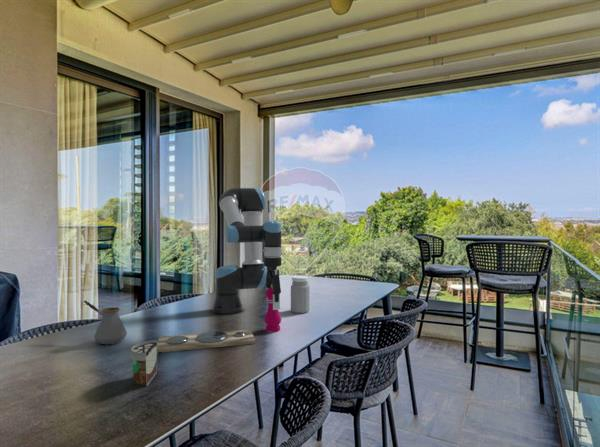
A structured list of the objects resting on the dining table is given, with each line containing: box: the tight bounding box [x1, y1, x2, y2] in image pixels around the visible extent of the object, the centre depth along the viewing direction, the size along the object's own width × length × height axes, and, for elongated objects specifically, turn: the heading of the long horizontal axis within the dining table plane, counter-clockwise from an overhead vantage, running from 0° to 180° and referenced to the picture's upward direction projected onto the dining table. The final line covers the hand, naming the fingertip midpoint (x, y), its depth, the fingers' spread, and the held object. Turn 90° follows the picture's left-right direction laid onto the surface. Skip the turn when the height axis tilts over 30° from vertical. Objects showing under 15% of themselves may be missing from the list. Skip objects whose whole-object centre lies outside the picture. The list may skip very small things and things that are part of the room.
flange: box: [166, 335, 188, 344], centre depth 142 cm, size 8×8×1 cm
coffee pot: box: [81, 300, 128, 345], centre depth 147 cm, size 21×12×15 cm, turn 66°
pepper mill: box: [264, 284, 282, 333], centre depth 160 cm, size 7×7×20 cm
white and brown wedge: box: [129, 339, 158, 387], centre depth 112 cm, size 12×6×10 cm, turn 5°
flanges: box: [196, 331, 246, 343], centre depth 147 cm, size 12×19×1 cm, turn 106°
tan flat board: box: [157, 328, 256, 354], centre depth 145 cm, size 14×36×2 cm, turn 106°
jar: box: [290, 275, 311, 314], centre depth 192 cm, size 10×10×18 cm
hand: (272, 306), depth 160 cm, fingers open, 13 cm apart
